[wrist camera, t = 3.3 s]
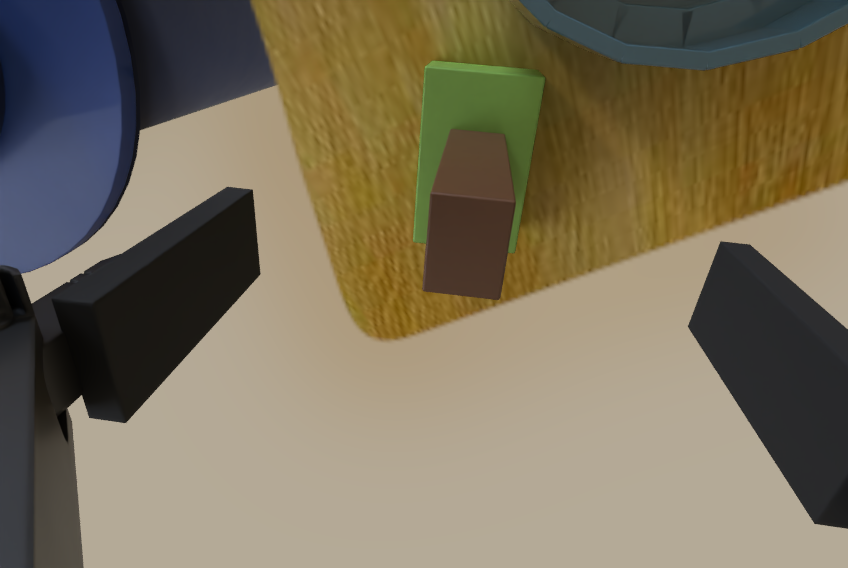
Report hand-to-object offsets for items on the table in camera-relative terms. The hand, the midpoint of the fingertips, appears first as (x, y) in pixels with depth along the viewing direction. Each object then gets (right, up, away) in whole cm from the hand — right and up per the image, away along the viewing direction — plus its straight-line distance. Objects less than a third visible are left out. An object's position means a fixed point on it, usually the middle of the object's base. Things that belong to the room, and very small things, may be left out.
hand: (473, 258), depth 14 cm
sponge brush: (+1, +6, +11) cm, 12 cm away
